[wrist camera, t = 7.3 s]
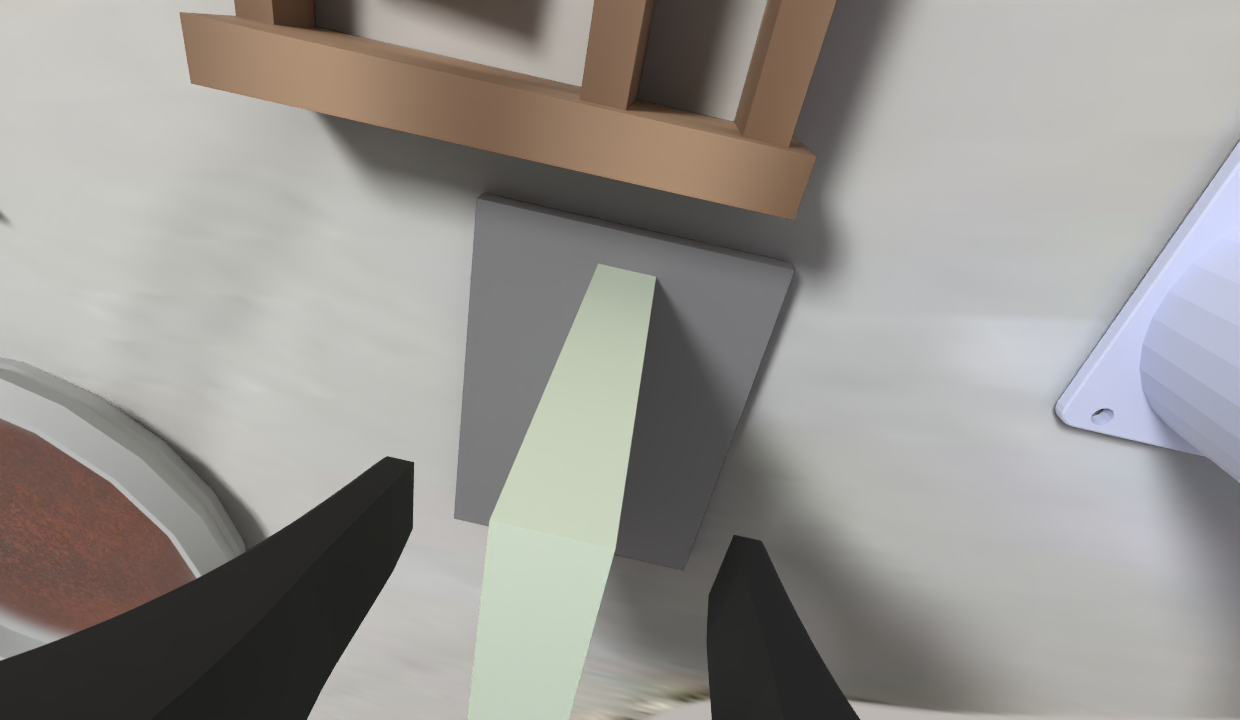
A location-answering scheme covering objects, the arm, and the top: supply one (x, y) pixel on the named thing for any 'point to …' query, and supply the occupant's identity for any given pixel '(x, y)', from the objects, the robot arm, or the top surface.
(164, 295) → the top surface
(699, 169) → the rack
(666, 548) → the mat
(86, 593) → the frying pan
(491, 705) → the board
